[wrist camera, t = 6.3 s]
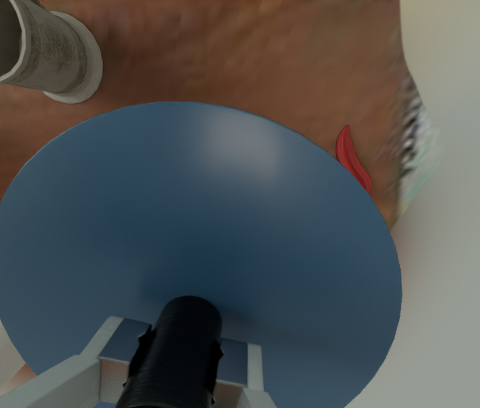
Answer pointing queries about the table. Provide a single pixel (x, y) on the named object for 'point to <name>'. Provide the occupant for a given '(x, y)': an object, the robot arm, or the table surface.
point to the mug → (48, 52)
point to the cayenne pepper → (351, 159)
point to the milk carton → (8, 358)
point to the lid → (199, 254)
